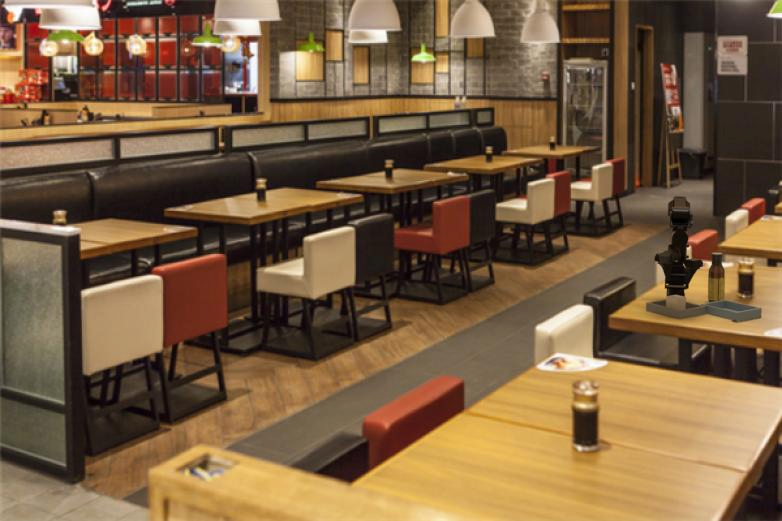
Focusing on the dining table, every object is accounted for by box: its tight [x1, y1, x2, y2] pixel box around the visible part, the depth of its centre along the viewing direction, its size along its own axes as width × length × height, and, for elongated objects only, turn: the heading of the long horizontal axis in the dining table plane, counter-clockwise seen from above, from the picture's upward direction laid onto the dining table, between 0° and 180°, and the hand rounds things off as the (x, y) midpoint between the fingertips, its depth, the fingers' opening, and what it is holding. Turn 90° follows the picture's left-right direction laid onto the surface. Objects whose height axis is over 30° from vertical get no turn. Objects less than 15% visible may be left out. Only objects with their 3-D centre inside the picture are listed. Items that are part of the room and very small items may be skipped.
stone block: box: [665, 295, 687, 310], centre depth 377 cm, size 5×5×6 cm
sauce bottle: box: [707, 252, 726, 303], centre depth 393 cm, size 7×6×20 cm
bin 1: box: [645, 298, 706, 320], centre depth 377 cm, size 17×14×4 cm
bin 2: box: [700, 299, 763, 323], centre depth 374 cm, size 17×14×4 cm
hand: (677, 283), depth 376 cm, fingers open, 9 cm apart
